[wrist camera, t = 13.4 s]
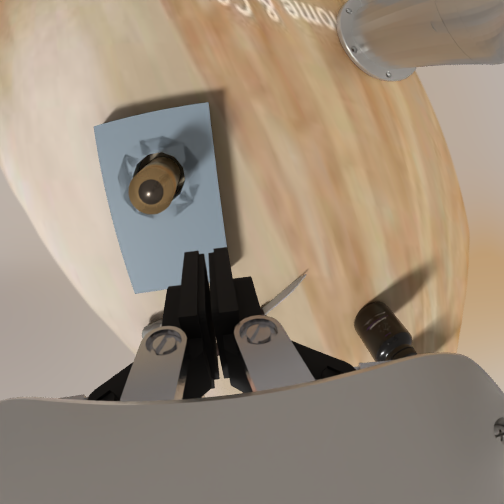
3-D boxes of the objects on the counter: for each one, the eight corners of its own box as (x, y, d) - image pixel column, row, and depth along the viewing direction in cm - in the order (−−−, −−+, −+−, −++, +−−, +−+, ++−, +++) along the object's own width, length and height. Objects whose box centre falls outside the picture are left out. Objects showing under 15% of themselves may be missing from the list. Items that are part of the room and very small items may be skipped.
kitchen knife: (214, 349, 43) (215, 358, 41) (210, 346, 42) (210, 355, 40) (306, 272, 39) (311, 280, 37) (302, 268, 39) (307, 276, 37)
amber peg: (142, 160, 29) (124, 174, 22) (177, 153, 29) (169, 164, 22) (148, 194, 31) (133, 218, 24) (182, 188, 31) (177, 210, 24)
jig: (101, 125, 26) (93, 126, 24) (207, 103, 27) (208, 102, 25) (138, 282, 35) (135, 293, 33) (229, 268, 36) (231, 278, 34)
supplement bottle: (365, 297, 43) (405, 346, 32) (393, 303, 45) (431, 347, 35) (345, 330, 46) (377, 381, 35) (373, 334, 48) (406, 380, 37)
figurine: (138, 334, 39) (140, 364, 33) (145, 311, 37) (146, 341, 32) (172, 340, 41) (178, 370, 36) (180, 318, 40) (187, 348, 35)
